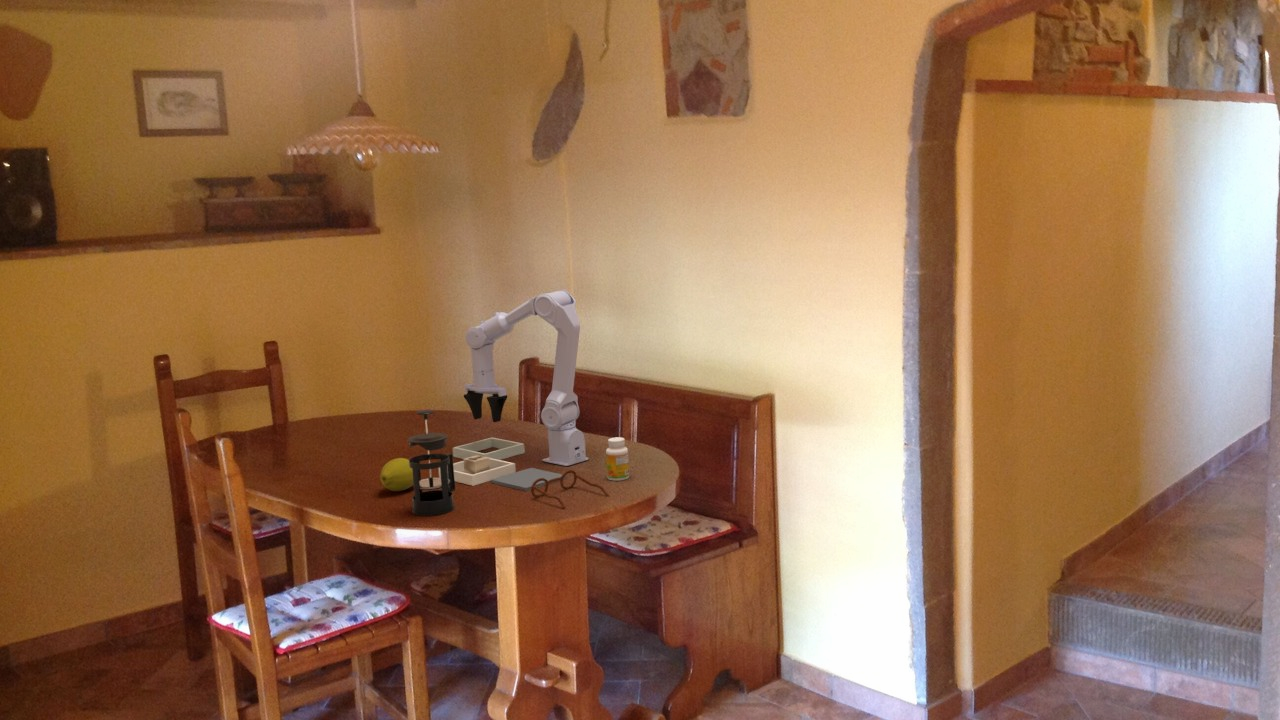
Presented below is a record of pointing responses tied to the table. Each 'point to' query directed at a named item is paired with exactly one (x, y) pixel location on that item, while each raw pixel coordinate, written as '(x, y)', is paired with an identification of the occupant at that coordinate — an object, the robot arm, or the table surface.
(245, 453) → the table surface
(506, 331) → the robot arm
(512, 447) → the bin
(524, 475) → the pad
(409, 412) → the table surface
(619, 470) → the supplement bottle
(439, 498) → the french press
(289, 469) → the table surface
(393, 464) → the lemon
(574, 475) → the glasses
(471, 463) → the letter cube
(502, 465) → the bin
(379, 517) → the table surface
